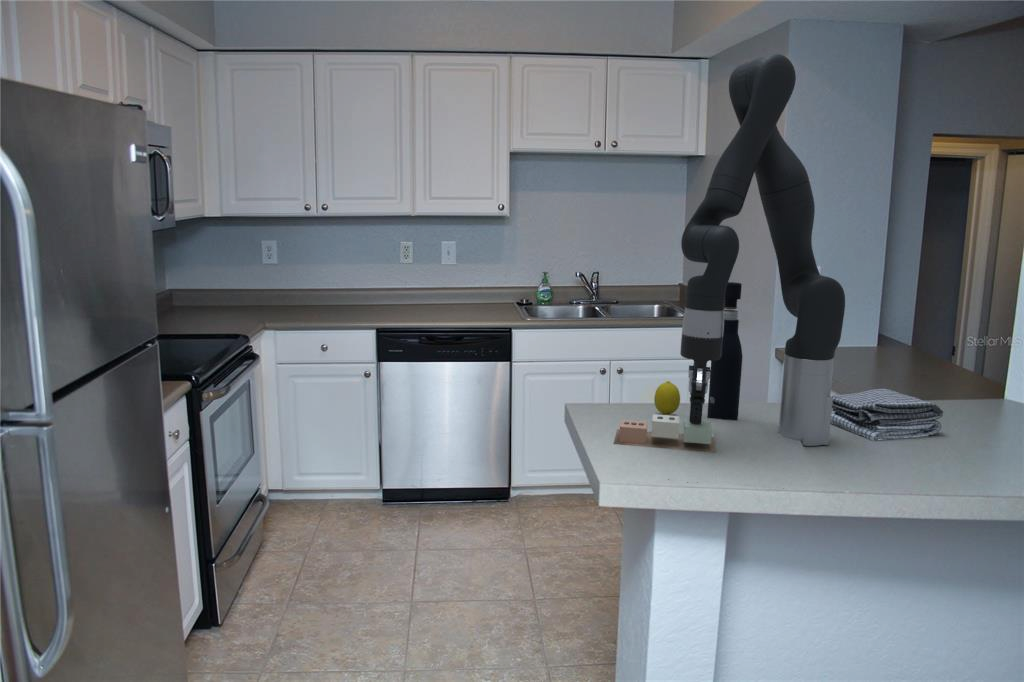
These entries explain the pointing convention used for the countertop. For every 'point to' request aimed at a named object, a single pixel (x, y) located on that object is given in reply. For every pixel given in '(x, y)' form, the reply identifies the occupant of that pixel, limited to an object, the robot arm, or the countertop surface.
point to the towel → (885, 414)
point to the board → (670, 443)
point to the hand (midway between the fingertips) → (695, 422)
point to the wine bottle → (727, 363)
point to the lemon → (667, 398)
